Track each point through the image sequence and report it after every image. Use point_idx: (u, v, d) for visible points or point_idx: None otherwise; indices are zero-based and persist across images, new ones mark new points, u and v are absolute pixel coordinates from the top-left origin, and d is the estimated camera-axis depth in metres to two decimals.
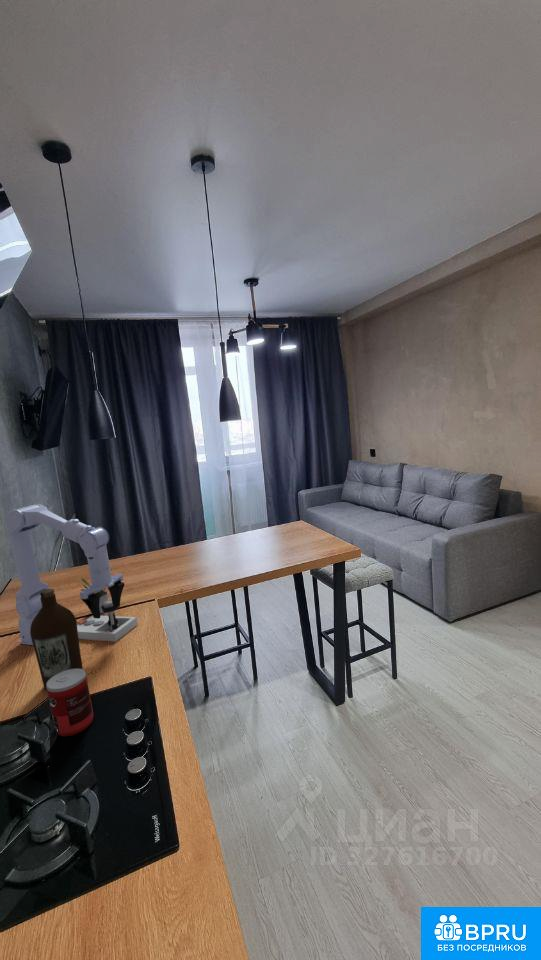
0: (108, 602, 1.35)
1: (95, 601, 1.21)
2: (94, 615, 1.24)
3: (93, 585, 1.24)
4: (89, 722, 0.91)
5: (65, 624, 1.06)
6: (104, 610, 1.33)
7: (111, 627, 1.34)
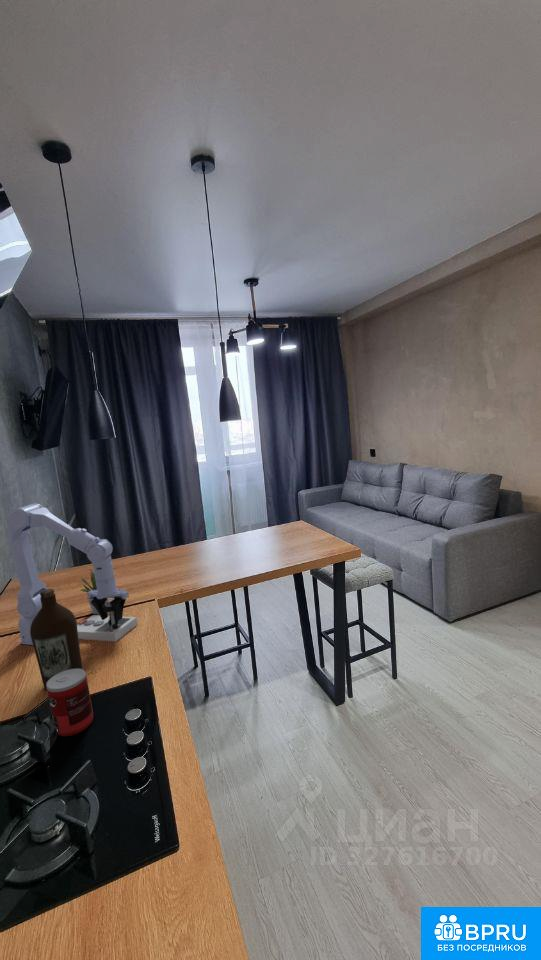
0: None
1: (93, 604, 1.34)
2: None
3: None
4: (89, 722, 0.91)
5: (65, 624, 1.06)
6: (105, 609, 1.33)
7: (111, 627, 1.34)
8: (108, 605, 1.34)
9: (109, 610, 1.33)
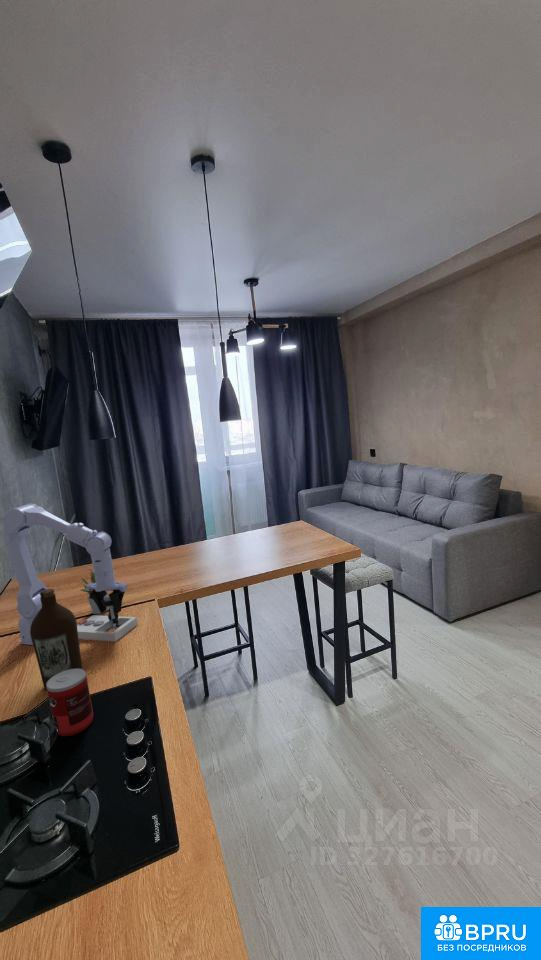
0: (108, 596, 1.35)
1: (91, 597, 1.33)
2: None
3: None
4: (89, 722, 0.91)
5: (65, 624, 1.06)
6: (104, 604, 1.33)
7: (111, 621, 1.34)
8: (107, 600, 1.33)
9: (108, 604, 1.33)
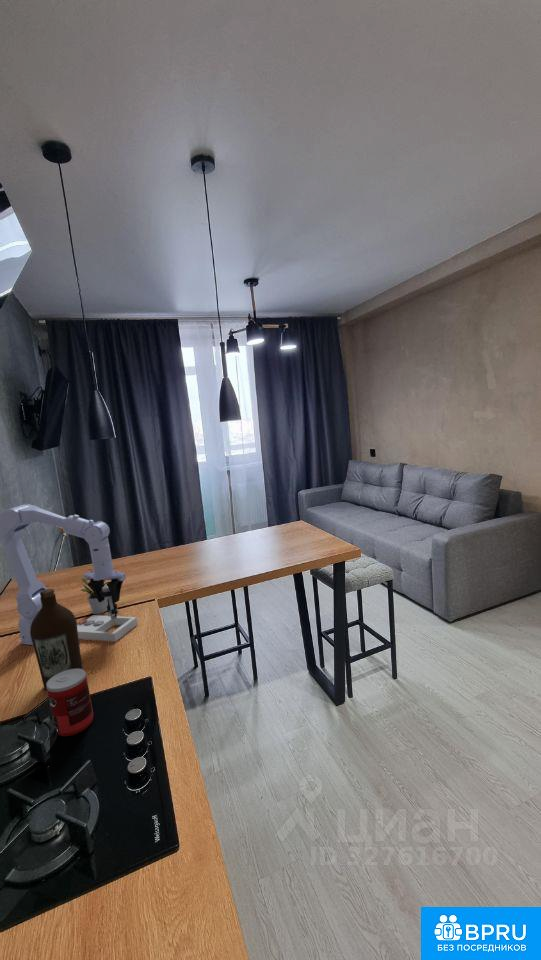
0: (107, 587, 1.34)
1: (89, 586, 1.33)
2: None
3: None
4: (89, 722, 0.91)
5: (65, 624, 1.06)
6: (103, 595, 1.33)
7: (110, 612, 1.33)
8: (105, 590, 1.33)
9: (106, 595, 1.33)
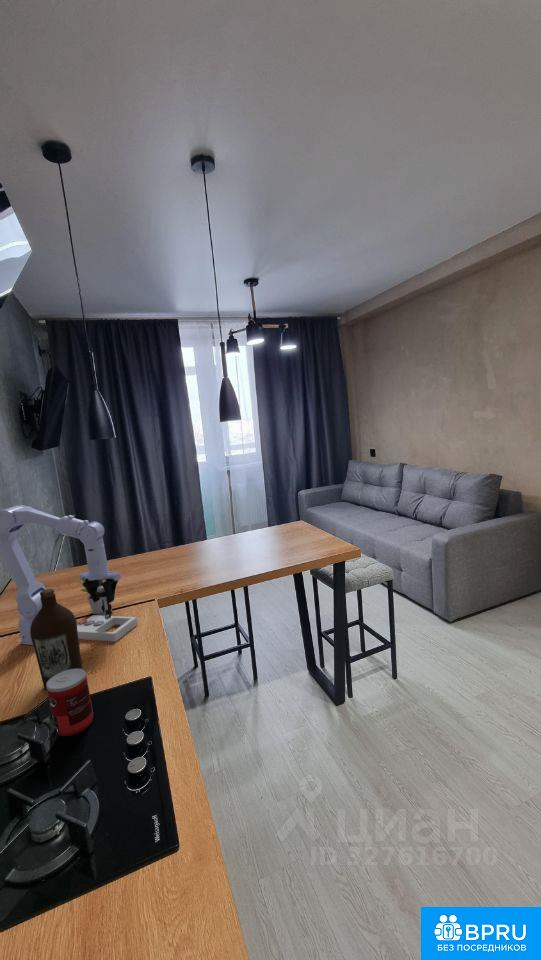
0: (102, 587, 1.35)
1: (84, 586, 1.34)
2: None
3: None
4: (89, 722, 0.91)
5: (65, 624, 1.06)
6: (98, 595, 1.33)
7: (105, 612, 1.34)
8: (100, 591, 1.34)
9: (101, 595, 1.33)
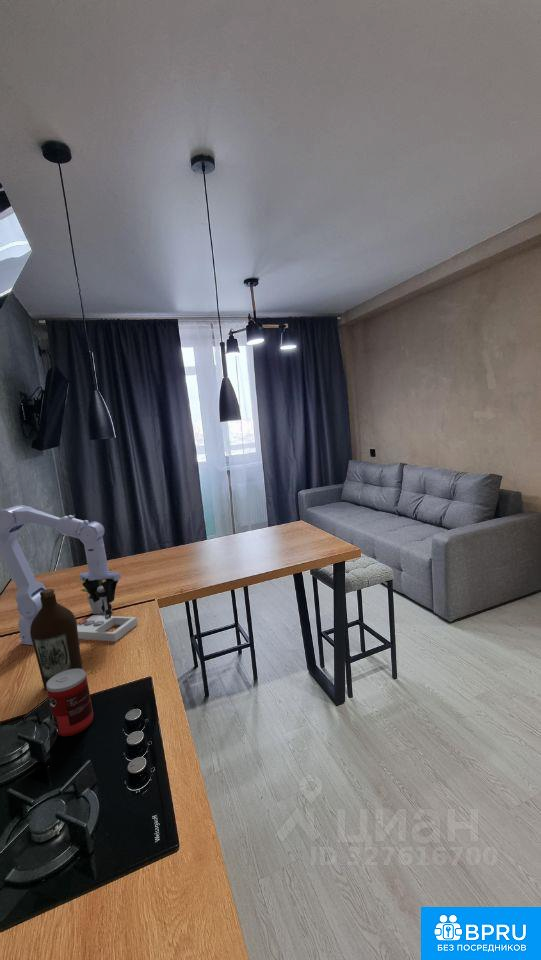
0: (102, 587, 1.35)
1: (84, 586, 1.34)
2: None
3: None
4: (89, 722, 0.91)
5: (65, 624, 1.06)
6: (98, 595, 1.33)
7: (105, 612, 1.34)
8: (100, 591, 1.34)
9: (101, 595, 1.33)
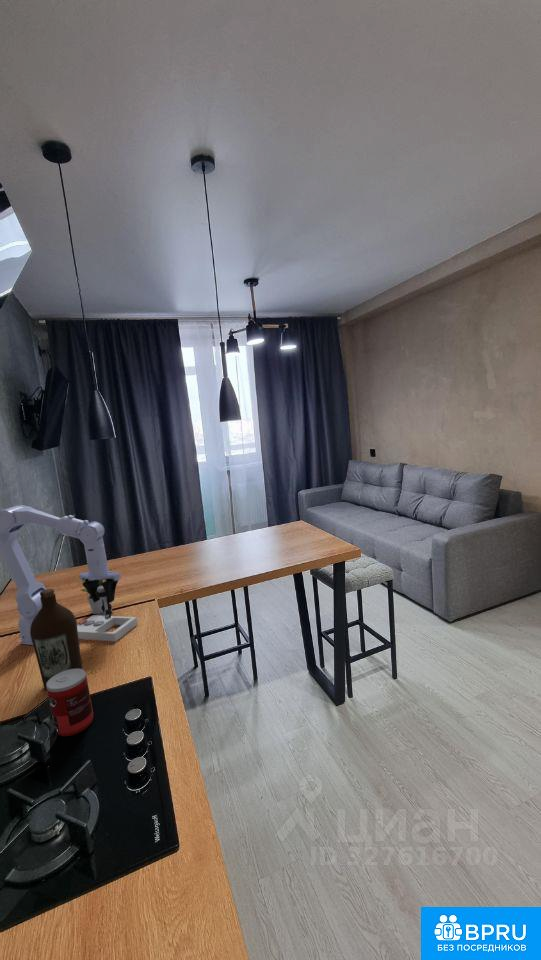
0: (102, 587, 1.35)
1: (84, 586, 1.34)
2: None
3: None
4: (89, 722, 0.91)
5: (65, 624, 1.06)
6: (98, 595, 1.33)
7: (105, 612, 1.34)
8: (100, 591, 1.34)
9: (101, 595, 1.33)
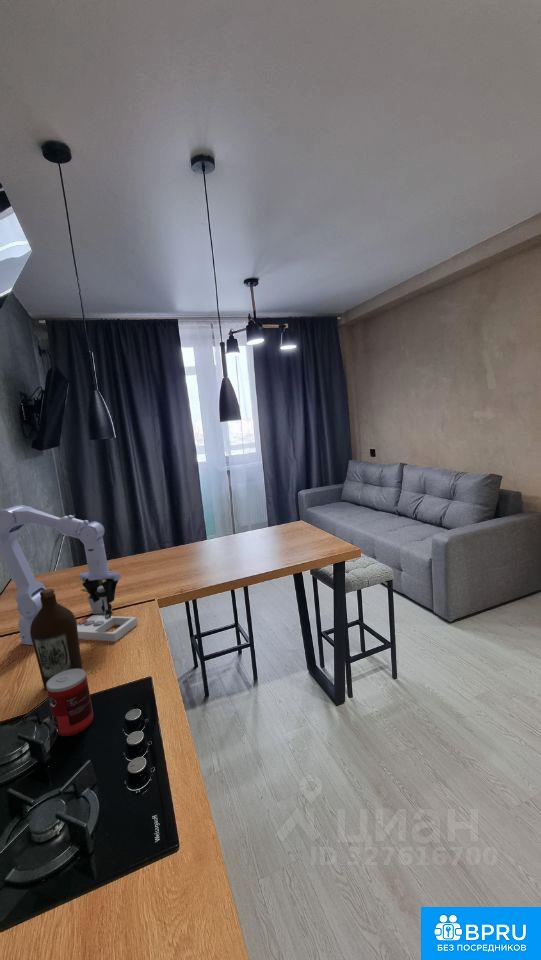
0: (102, 587, 1.35)
1: (84, 586, 1.34)
2: None
3: None
4: (89, 722, 0.91)
5: (65, 624, 1.06)
6: (98, 595, 1.33)
7: (105, 612, 1.34)
8: (100, 591, 1.34)
9: (101, 595, 1.33)
